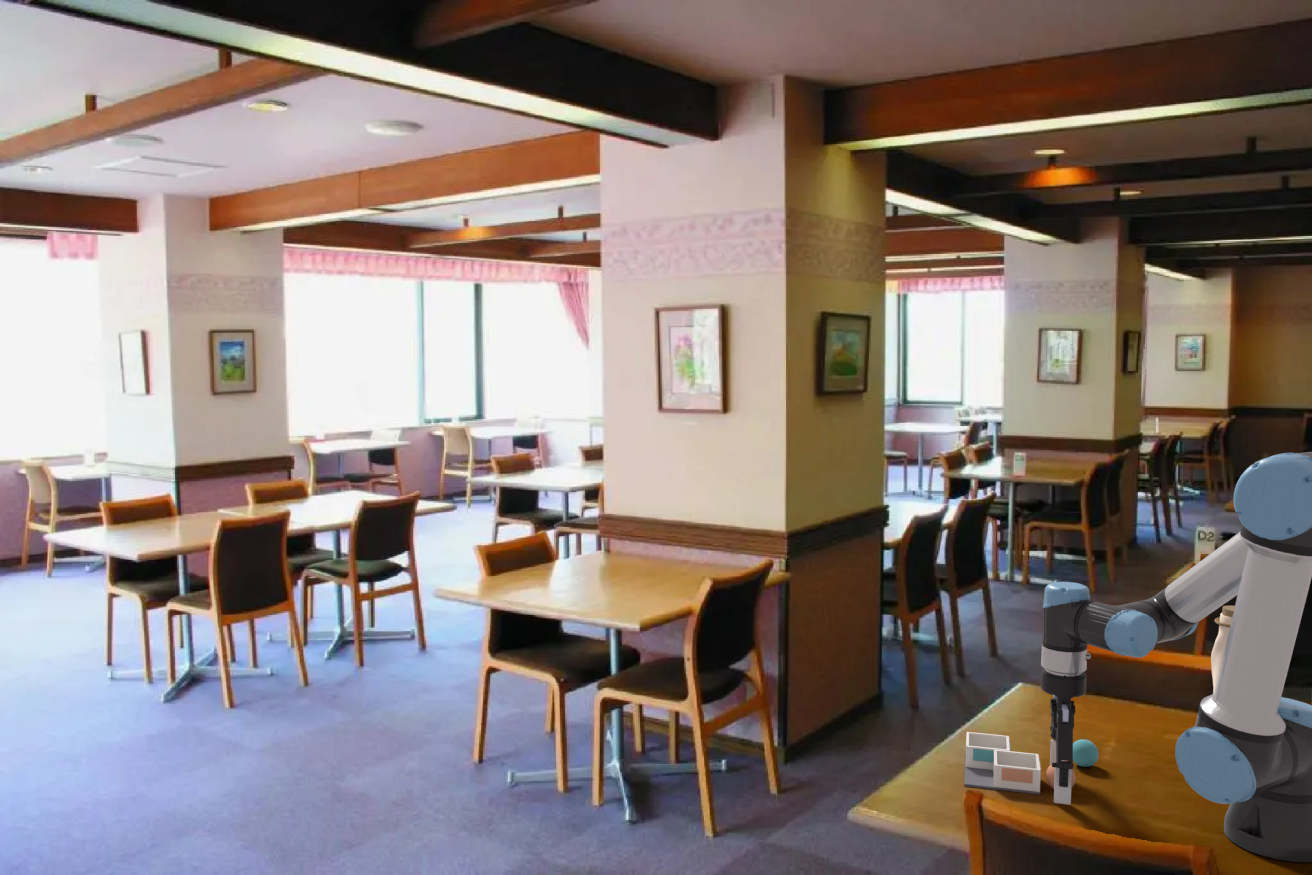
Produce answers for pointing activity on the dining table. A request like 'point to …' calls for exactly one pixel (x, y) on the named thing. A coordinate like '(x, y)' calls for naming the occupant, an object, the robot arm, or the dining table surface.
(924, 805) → the dining table surface
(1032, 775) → the white square box
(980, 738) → the white square bin
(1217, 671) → the water bottle
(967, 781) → the mat
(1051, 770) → the ball terracotta
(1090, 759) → the ball teal
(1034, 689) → the dining table surface
